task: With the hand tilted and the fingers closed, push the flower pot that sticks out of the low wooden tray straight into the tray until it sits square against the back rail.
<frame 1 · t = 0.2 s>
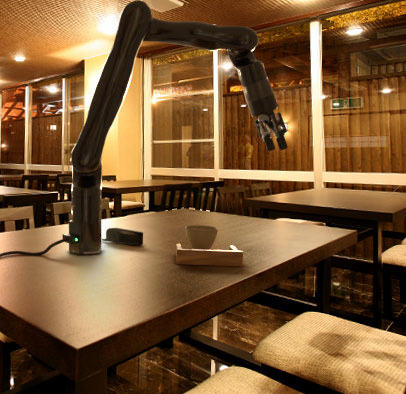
hand: (277, 149, 117), 31 cm above the table, tool tilted 20°, fingers open, 8 cm apart
low wooden tray: (205, 258, 115), on the table
black rounded block: (122, 243, 135), on the table
flower pot: (200, 250, 125), on the table
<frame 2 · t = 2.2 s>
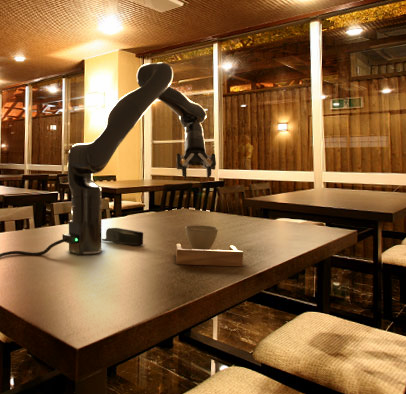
hand: (196, 176, 141), 23 cm above the table, tool tilted 45°, fingers open, 7 cm apart
nothing on the table moved.
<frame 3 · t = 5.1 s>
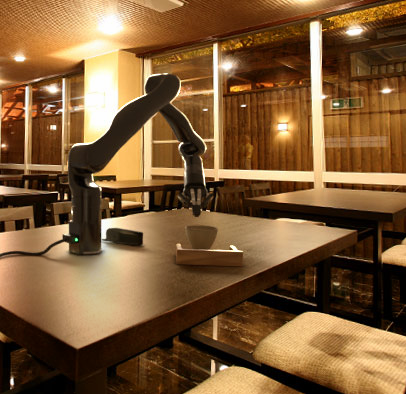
hand: (196, 215, 138), 9 cm above the table, tool tilted 45°, fingers closed
nothing on the table moved.
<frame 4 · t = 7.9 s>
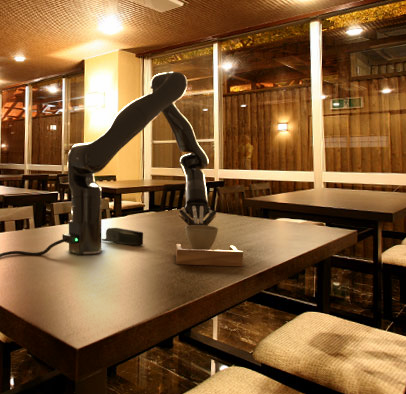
hand: (199, 234, 130), 4 cm above the table, tool tilted 45°, fingers closed
flower pot: (200, 250, 125), on the table, touching gripper
everything else where it was.
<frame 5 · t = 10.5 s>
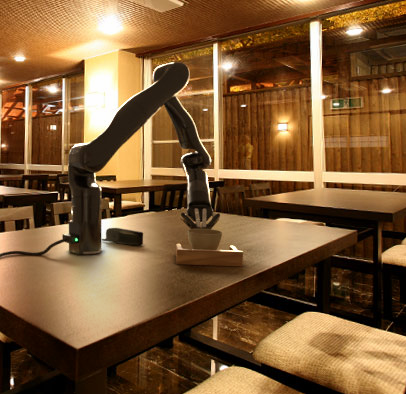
hand: (202, 239, 123), 4 cm above the table, tool tilted 45°, fingers closed
flower pot: (203, 255, 118), on the table, touching gripper
everything else where it was.
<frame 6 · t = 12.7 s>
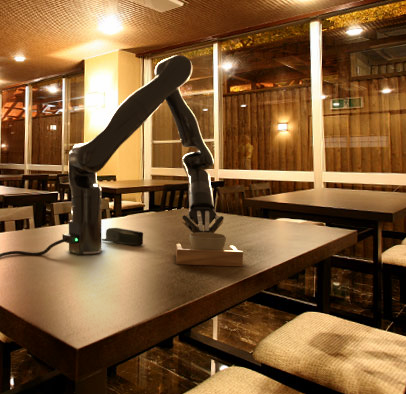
hand: (204, 243, 117), 4 cm above the table, tool tilted 45°, fingers closed
flower pot: (206, 260, 112), on the table, touching gripper, low wooden tray
everything else where it was.
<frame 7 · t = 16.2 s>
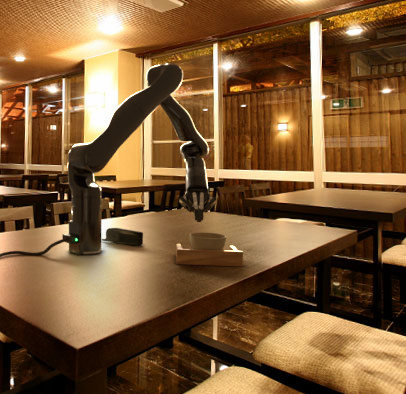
hand: (199, 220, 131), 8 cm above the table, tool tilted 45°, fingers closed
flower pot: (206, 260, 112), on the table
everything else where it was.
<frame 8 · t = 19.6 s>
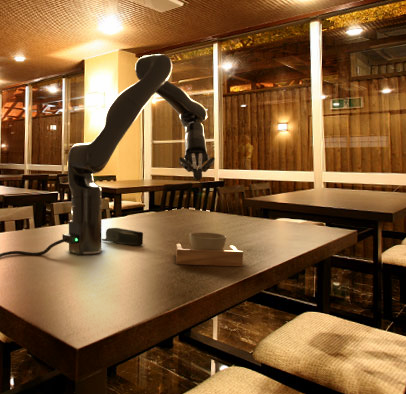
hand: (198, 178, 136), 22 cm above the table, tool tilted 45°, fingers closed
nothing on the table moved.
at the end: flower pot 0.3 cm from the target spot on the low wooden tray, point 0.0 cm above the low wooden tray's base; flower pot tilted 0° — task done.
